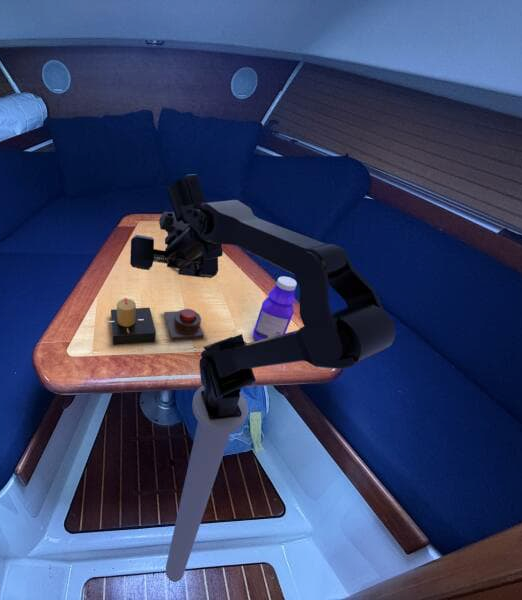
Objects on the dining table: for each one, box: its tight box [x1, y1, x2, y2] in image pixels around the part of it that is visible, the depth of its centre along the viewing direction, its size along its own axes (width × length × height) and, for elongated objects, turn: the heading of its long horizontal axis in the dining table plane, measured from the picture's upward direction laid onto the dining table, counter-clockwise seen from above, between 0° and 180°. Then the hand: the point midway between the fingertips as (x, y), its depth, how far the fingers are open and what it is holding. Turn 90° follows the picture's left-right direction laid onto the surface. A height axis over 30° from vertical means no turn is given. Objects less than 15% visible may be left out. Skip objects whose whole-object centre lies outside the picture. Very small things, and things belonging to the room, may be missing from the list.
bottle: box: [253, 275, 298, 341], centre depth 75 cm, size 7×6×17 cm
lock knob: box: [116, 297, 137, 327], centre depth 76 cm, size 4×4×5 cm
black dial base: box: [107, 307, 157, 346], centre depth 79 cm, size 10×11×3 cm
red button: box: [181, 308, 197, 323], centre depth 80 cm, size 4×4×2 cm
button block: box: [163, 309, 205, 342], centre depth 81 cm, size 10×8×3 cm
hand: (160, 269), depth 73 cm, fingers open, 9 cm apart
